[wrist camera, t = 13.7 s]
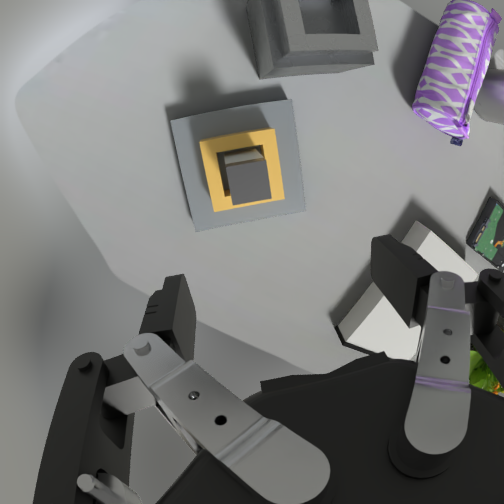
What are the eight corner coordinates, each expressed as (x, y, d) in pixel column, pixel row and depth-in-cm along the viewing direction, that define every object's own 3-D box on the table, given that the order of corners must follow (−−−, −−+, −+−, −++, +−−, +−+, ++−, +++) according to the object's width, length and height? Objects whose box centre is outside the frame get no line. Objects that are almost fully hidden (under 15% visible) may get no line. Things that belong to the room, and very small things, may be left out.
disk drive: (516, 226, 47) (488, 195, 43) (524, 231, 44) (498, 200, 40) (494, 267, 51) (463, 243, 47) (502, 273, 48) (472, 250, 44)
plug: (254, 148, 34) (266, 160, 26) (259, 177, 36) (271, 198, 28) (224, 153, 34) (225, 167, 26) (229, 183, 36) (232, 205, 28)
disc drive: (333, 326, 51) (342, 346, 46) (413, 218, 43) (431, 230, 39) (394, 350, 56) (404, 367, 52) (464, 262, 49) (479, 275, 44)
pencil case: (441, 142, 38) (483, 154, 29) (396, 113, 36) (438, 118, 27) (472, 31, 29) (512, 28, 21) (431, -2, 27) (470, -14, 19)
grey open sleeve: (324, 3, 28) (368, -32, 17) (337, 73, 33) (389, 61, 21) (246, 7, 28) (259, -37, 17) (259, 79, 33) (280, 63, 21)
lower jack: (287, 99, 34) (297, 98, 30) (302, 206, 40) (312, 219, 36) (172, 120, 34) (165, 121, 29) (196, 226, 40) (194, 241, 36)
